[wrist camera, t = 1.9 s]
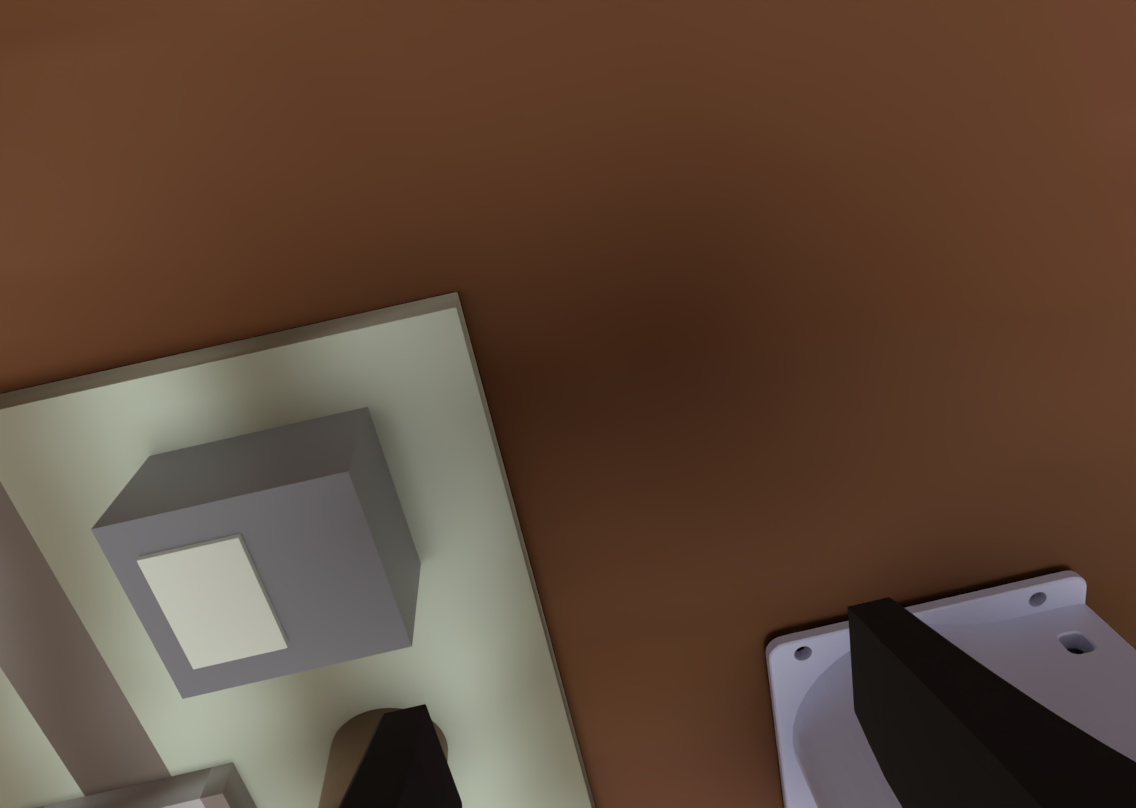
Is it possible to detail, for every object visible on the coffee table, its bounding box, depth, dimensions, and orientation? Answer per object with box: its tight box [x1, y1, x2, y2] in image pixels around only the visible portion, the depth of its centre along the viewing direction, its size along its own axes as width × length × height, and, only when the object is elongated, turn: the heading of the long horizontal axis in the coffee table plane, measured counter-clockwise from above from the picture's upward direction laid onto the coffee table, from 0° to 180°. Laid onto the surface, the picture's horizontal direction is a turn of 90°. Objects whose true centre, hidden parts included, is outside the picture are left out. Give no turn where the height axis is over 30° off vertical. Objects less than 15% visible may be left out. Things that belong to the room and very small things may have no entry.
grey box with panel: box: [91, 407, 421, 699], centre depth 18 cm, size 5×4×3 cm
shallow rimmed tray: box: [0, 292, 595, 808], centre depth 22 cm, size 16×20×2 cm
